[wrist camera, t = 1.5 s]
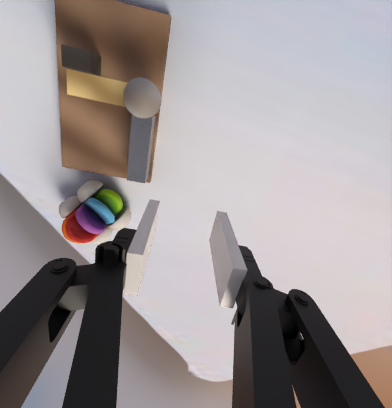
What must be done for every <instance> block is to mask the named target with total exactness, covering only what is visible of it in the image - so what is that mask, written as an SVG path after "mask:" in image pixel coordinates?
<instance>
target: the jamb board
mask: <svg viewBox="0 0 392 408" xmlns="http://www.w3.org/2000/svg"><path fill="white" fill-rule="evenodd" d="M55 14H56V36H57V58H58V79H59V101H60V123H61V145H62V167H67V168H72V169H77V170H83V171H88V172H94V173H99V174H105V175H110V176H116V177H121V178H127V169H128V156H129V143H130V131H131V118H132V114H133V115H134V116H136V117H138V118H149V117H152V116H154V115H156V122H155V130H154V138H153V147H152V155H151V163H150V171H149V177H148V179H147V181H146V182H149V183H150V181H151V176H152V168H153V160H154V152H155V144H156V136H157V128H158V120H159V112H160V106H161V96H162V88H163V80H164V72H165V64H166V57H167V49H168V41H169V33H170V25H171V15H167V14H163V13H160V12H156V11H152V10H149V9H145V8H141V7H138V6H134V5H130V4H126V3H123V2H119V1H115V0H55Z"/></svg>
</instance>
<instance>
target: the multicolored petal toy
mask: <svg viewBox="0 0 392 408" xmlns="http://www.w3.org/2000/svg"><path fill="white" fill-rule="evenodd" d="M102 185H103V183H101V182H99V181H97V180H88V181H87V182H85V183H84V184H83V185H82V186H81V187H80V188H79V189H78V191H77V196H70V197H69V198H67V199H66V200H65V201H64V202H62V203H61V204H60V205H59V213H60V215H61V217H62V218H65V217H66V219H65V220H64V221H63V224H62V232H63V235H64V237H65V238H66V239H67V240H69V241H71V242H75V243H87V242H91V243H94V244H101V243H104V242H105V241H107V240H108V239H109V238H110V236H111V234H112V229H122V228H124V227H125V226H126V225H127V224H128V223H129V222H130V220H131V212H130V210H129V208H128V207H126V208H124V209H123V202H122V199H121V197H120V195H119V194H117V193H116V192H115V191H113V190H109V189H101V190H99V188H100V187H101V186H102ZM82 203H84V204H82ZM122 209H123V210H122ZM115 215H116V216H115ZM114 216H115V217H114Z"/></svg>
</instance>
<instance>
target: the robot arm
mask: <svg viewBox="0 0 392 408" xmlns="http://www.w3.org/2000/svg"><path fill="white" fill-rule="evenodd" d="M159 204H160V201H156V200H149V203H148V205H147V207H146V210H145V212H144V214H143V217H142V219H141V221H140V224H139V226H138V228H137V230H134V229H128V228H123V229H121V230H120V231H118V233H117V234H116V236H115V238H114V240H113V241H108V242H104V243H101V244H100V245H98V246H97V248H96V253H95V263H94V264H90V265H82V266H77V265H76V263H75V261H73V260H72V259H68V258H59V259H55V260H52V261H50V262H48V263H47V264H46V265H44V266H43V267H42V268H41V270H40V271H39V272H38V273H37V274H36V275H35V276H34V277H33V278H32V279H31V280H30V281H29V282H28V283H27V284H26V286H25V287H24V288H23V289H22V290H21V291H20V292H19V293H18V294H17V295H16V296H15V297H14V298H13V299H12V300H11V301H10V302H9V304H8V305H7V306H6V307H5V308H4V309H3V310H2V311H1V312H0V408H21V406H22V404H23V403H24V401H25V399H26V397H27V396H28V394H29V392H30V390H31V389H32V387H33V385H34V383H35V382H36V380H37V378H38V376H39V375H40V373H41V371H42V369H43V368H44V366H45V364H46V363H47V361H48V359H49V357H50V356H51V354H52V352H53V350H54V349H55V347H56V345H57V343H58V341H59V340H60V338H61V336H62V335H63V333H64V331H65V329H66V327H67V326H68V324H69V322H70V320H71V319H72V317H73V315H74V313H75V312H76V310H79V309H85V310H84V314H83V319H82V323H81V328H80V332H79V336H78V341H77V345H76V349H75V354H74V358H73V362H72V367H71V371H70V375H69V380H68V384H67V389H66V393H65V397H64V402H63V406H62V408H116V400H117V383H118V365H119V347H120V329H121V328H120V327H121V312H122V294H124V295H132V296H138V293H139V289H140V286H141V282H142V278H143V275H144V271H145V268H146V264H147V260H148V257H149V253H150V249H151V246H152V242H153V238H154V235H155V231H156V224H157V217H158V210H159ZM210 247H211V253H212V260H213V266H214V272H215V279H216V285H217V292H218V298H219V305H220V306H221V307H229V308H233V306H234V304H235V301H236V303H237V310H236V313H235V315H234V318H233V320H232V323H231V324H232V325H233V324H234V322H235V333H234V364H233V396H232V408H296V403H295V398H294V392H293V388H294V391H295V393H296V396H297V399H298V401H299V404H300V406H301V408H385V407H384V406H383V404H382V403H381V401H380V400H379V398H378V397H377V395H376V394H375V392H374V391H373V389H372V388H371V386H370V385H369V383H368V382H367V380H366V379H365V377H364V376H363V374H362V373H361V371H360V370H359V368H358V367H357V365H356V363H355V362H354V360H353V359H352V358H351V356H350V354H349V353H348V351H347V350H346V348H345V347H344V345H343V344H342V342H341V341H340V339H339V338H338V336H337V335H336V333H335V332H334V330H333V329H332V327H331V326H330V324H329V323H328V321H327V320H326V318H325V317H324V315H323V314H322V312H321V311H320V309H319V308H318V306H317V305H316V303H315V301H314V300H313V299H312V298H311V297H310V296H309V295H308V294H306V293H305V292H303V291H301V290H297V289H292V290H290V291H289V293H288V294H285V293H283V292H280V291H278V290H275V289H274V288H273V285H272V284H271V282H270V281H269V280H267V279H266V278H265V277H262V275H261V273H260V270H259V268H258V266H257V263H256V261H255V259H254V256H253V254H252V252H251V251H250V250H249V249H248V248H247V247H245V246H239V245H238V243H237V240H236V237H235V235H234V232H233V229H232V226H231V224H230V221H229V218H228V215H227V213H225V212H219V211H217V214H216V218H215V221H214V225H213V229H212V232H211V236H210ZM123 289H124V291H123ZM300 333H301V334H302V336H303V338H304V339H303V338H302V336H301V334H300ZM292 386H293V387H292Z"/></svg>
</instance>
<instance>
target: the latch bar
mask: <svg viewBox="0 0 392 408" xmlns="http://www.w3.org/2000/svg"><path fill="white" fill-rule="evenodd" d="M155 122H156V115H154V116H152V117H149V118H138V117H136V116H134V115H133V114H132V118H131V131H130V143H129V156H128V169H127V180H130V181H136V182H141V183H145V182H146V181H147V179H148V177H149V171H150V163H151V155H152V147H153V138H154V130H155Z"/></svg>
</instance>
